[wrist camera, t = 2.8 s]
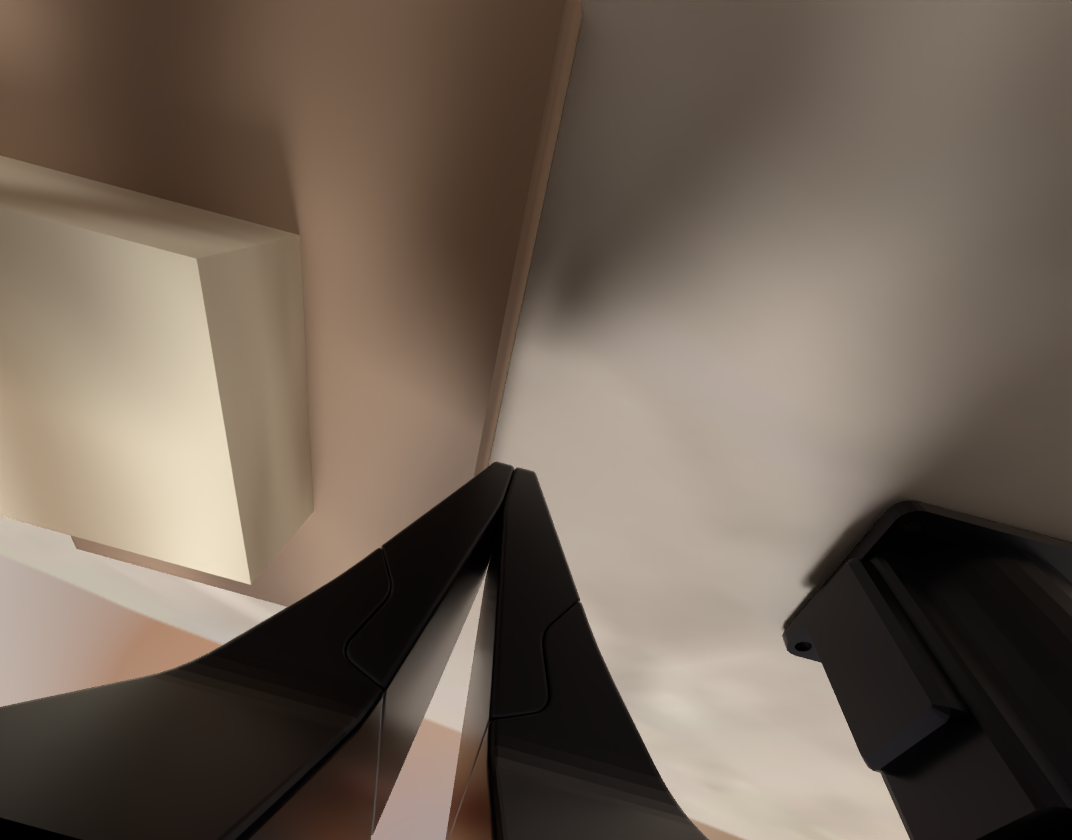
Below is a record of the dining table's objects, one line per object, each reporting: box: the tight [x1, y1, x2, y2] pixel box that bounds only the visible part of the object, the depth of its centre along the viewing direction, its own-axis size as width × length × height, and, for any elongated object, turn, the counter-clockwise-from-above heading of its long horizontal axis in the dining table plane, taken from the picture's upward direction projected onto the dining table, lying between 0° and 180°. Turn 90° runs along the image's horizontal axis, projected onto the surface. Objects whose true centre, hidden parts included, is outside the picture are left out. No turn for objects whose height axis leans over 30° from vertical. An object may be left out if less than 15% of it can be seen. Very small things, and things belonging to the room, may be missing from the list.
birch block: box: [0, 156, 314, 585], centre depth 9 cm, size 7×7×2 cm
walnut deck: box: [0, 0, 583, 607], centre depth 11 cm, size 12×16×2 cm
